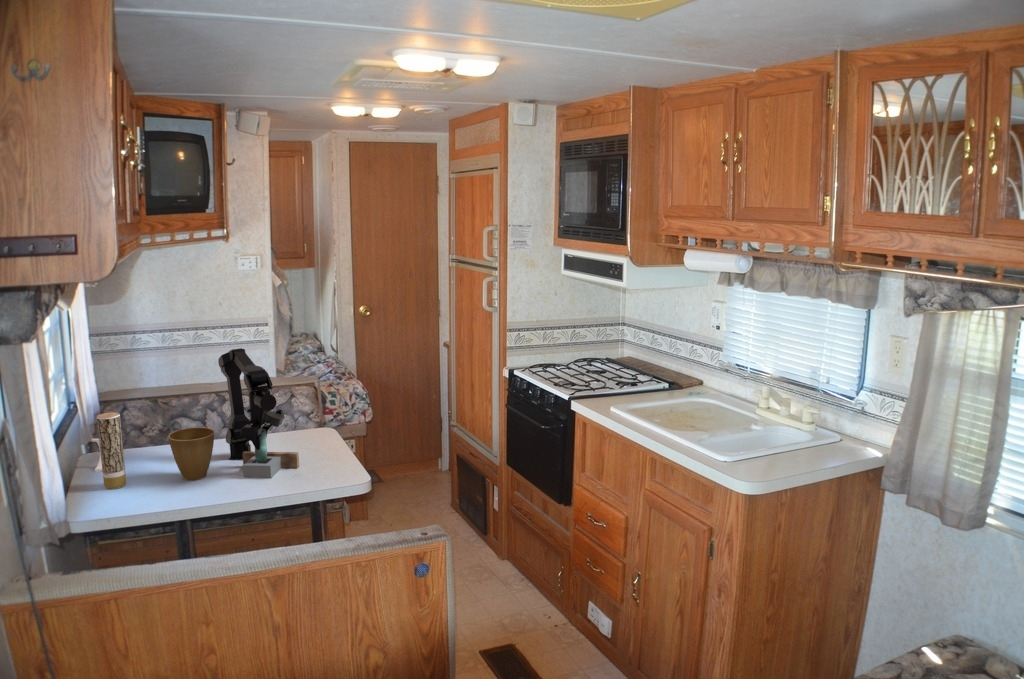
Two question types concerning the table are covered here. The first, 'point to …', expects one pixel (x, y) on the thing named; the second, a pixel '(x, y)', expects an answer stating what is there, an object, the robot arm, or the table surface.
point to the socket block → (262, 467)
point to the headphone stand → (99, 467)
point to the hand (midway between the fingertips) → (260, 447)
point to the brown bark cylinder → (111, 450)
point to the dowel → (262, 449)
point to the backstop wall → (287, 458)
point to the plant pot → (192, 451)
